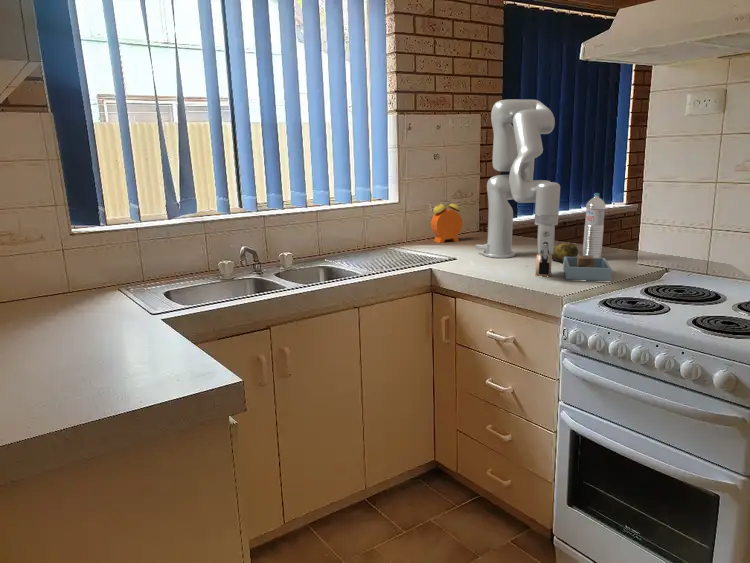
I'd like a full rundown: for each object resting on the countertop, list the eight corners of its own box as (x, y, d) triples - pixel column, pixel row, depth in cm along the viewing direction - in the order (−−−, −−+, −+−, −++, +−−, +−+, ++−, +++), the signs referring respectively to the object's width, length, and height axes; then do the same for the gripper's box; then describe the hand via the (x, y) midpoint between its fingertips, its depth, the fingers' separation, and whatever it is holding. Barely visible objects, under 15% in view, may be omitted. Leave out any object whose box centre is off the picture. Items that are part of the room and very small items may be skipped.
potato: (567, 259, 222) (569, 238, 220) (579, 266, 210) (581, 244, 208) (546, 259, 222) (547, 238, 220) (557, 266, 209) (558, 244, 207)
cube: (577, 272, 197) (578, 258, 196) (576, 269, 202) (577, 255, 201) (593, 273, 196) (594, 258, 195) (591, 270, 201) (592, 256, 199)
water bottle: (603, 260, 219) (609, 194, 213) (585, 260, 219) (590, 194, 213) (597, 256, 226) (602, 192, 220) (579, 256, 226) (584, 192, 220)
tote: (566, 280, 189) (567, 267, 188) (562, 268, 205) (563, 256, 204) (610, 282, 185) (611, 268, 184) (603, 270, 202) (604, 258, 201)
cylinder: (535, 276, 194) (536, 256, 192) (535, 273, 199) (536, 253, 197) (550, 277, 193) (552, 257, 191) (550, 274, 198) (551, 254, 196)
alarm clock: (455, 239, 269) (456, 196, 265) (462, 241, 264) (463, 197, 259) (430, 241, 264) (430, 197, 259) (436, 243, 259) (437, 198, 254)
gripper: (559, 223, 182) (556, 277, 186) (556, 216, 199) (553, 266, 203) (535, 223, 184) (532, 276, 188) (534, 216, 200) (531, 265, 205)
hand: (543, 271), depth 195 cm, fingers open, 7 cm apart
